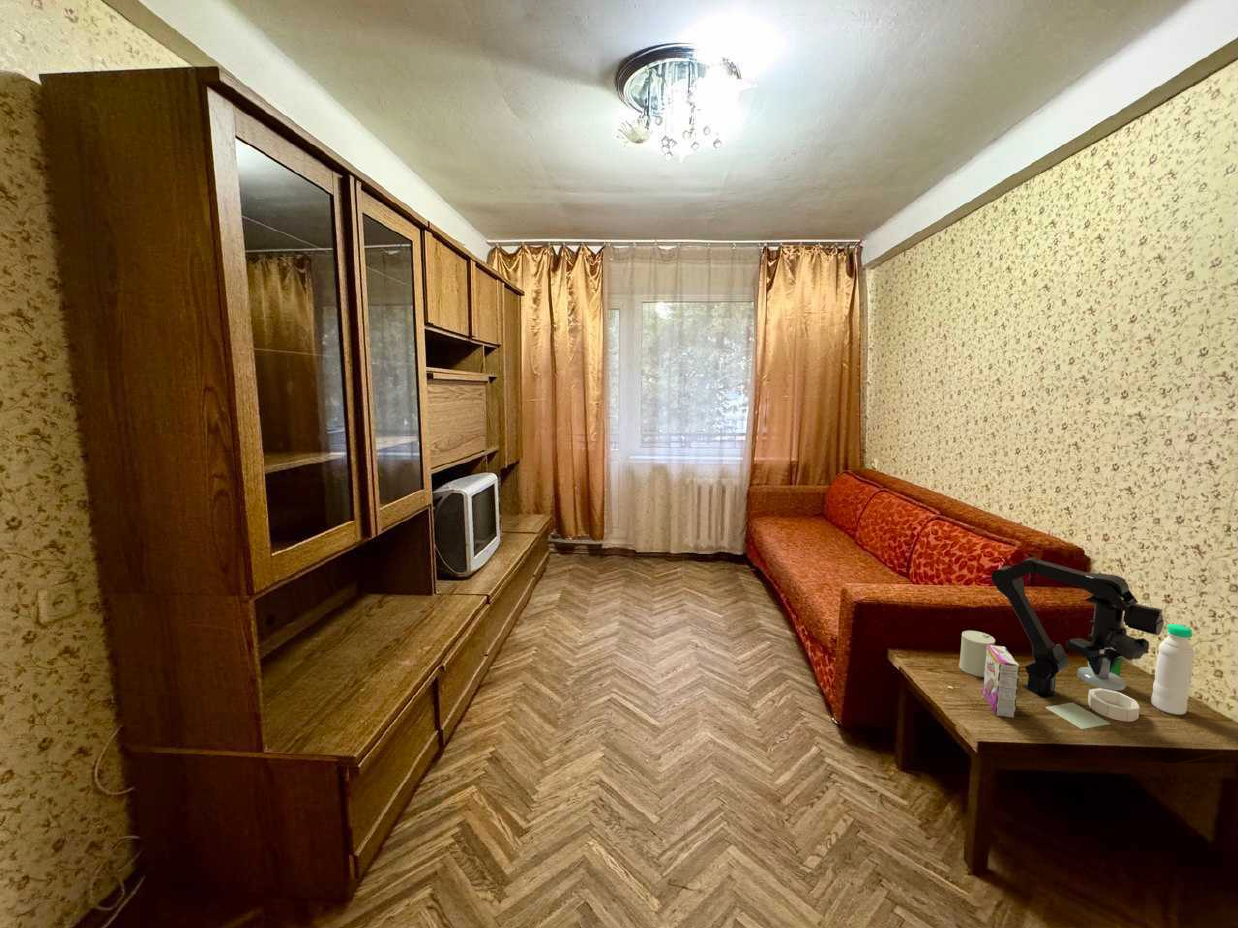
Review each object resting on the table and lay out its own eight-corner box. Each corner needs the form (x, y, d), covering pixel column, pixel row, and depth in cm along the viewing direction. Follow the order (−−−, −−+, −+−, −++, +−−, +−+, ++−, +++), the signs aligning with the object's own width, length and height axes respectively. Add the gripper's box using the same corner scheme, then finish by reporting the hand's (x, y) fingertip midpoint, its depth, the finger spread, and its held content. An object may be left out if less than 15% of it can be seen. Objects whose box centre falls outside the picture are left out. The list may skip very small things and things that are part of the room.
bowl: (1118, 724, 142) (1120, 711, 142) (1079, 703, 152) (1080, 691, 151) (1146, 719, 144) (1148, 706, 144) (1106, 698, 154) (1107, 686, 153)
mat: (1081, 730, 140) (1081, 728, 140) (1044, 708, 150) (1044, 707, 150) (1110, 724, 142) (1110, 723, 142) (1072, 703, 152) (1072, 702, 152)
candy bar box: (981, 694, 158) (985, 643, 155) (1000, 696, 156) (1005, 645, 154) (994, 716, 147) (999, 662, 145) (1015, 719, 146) (1020, 664, 143)
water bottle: (1180, 718, 144) (1193, 634, 141) (1146, 705, 151) (1157, 624, 147) (1190, 711, 148) (1202, 628, 144) (1156, 698, 154) (1167, 618, 150)
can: (999, 674, 168) (1003, 640, 166) (976, 678, 166) (979, 643, 164) (974, 660, 177) (977, 627, 175) (952, 664, 175) (954, 630, 173)
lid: (1104, 692, 140) (1107, 670, 139) (1067, 672, 150) (1069, 652, 149) (1135, 688, 141) (1138, 667, 140) (1097, 669, 151) (1099, 649, 150)
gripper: (1110, 637, 134) (1103, 693, 136) (1170, 631, 137) (1162, 686, 139) (1067, 619, 145) (1061, 671, 147) (1123, 613, 147) (1117, 664, 150)
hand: (1101, 673), depth 145 cm, fingers closed on lid, 3 cm apart
